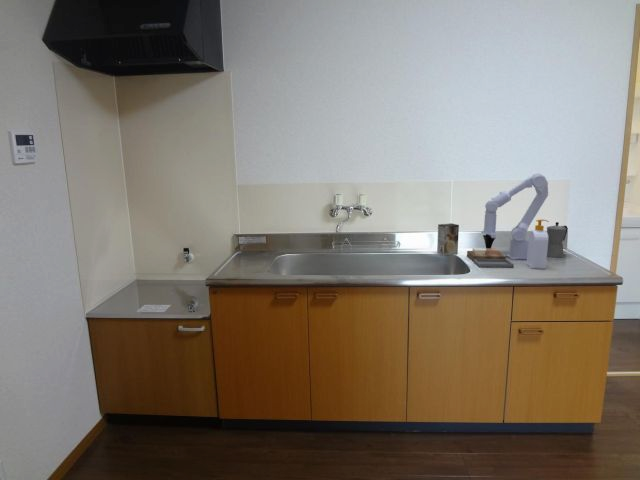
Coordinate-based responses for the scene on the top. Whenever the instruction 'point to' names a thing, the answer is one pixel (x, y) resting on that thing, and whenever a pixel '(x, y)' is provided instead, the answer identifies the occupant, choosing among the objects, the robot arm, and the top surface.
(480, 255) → the walnut plate
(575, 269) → the top surface
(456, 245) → the coffee box
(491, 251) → the terracotta tile
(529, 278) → the top surface
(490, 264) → the box
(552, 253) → the coffeepot
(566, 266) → the top surface
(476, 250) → the cream tile
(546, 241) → the soap bottle
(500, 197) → the robot arm
